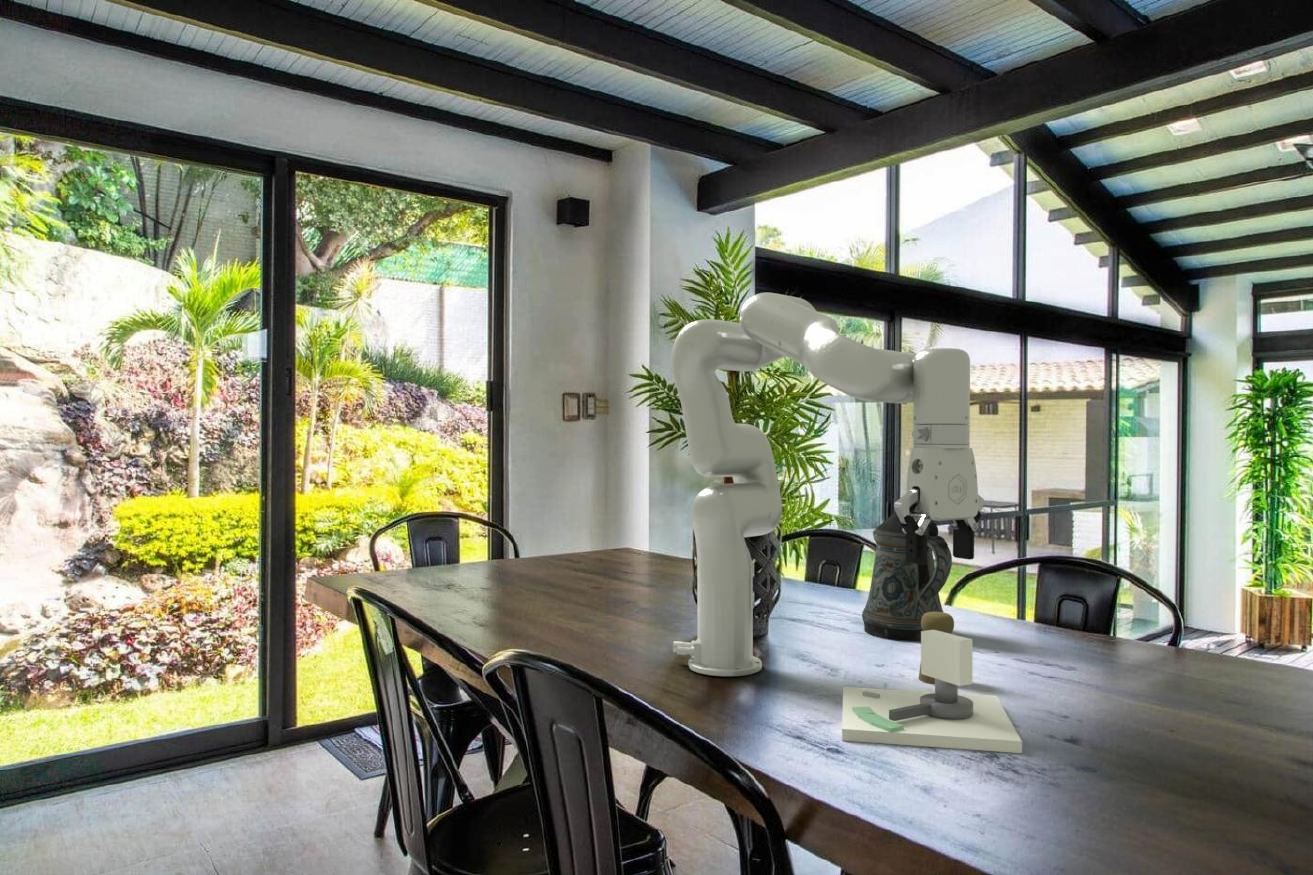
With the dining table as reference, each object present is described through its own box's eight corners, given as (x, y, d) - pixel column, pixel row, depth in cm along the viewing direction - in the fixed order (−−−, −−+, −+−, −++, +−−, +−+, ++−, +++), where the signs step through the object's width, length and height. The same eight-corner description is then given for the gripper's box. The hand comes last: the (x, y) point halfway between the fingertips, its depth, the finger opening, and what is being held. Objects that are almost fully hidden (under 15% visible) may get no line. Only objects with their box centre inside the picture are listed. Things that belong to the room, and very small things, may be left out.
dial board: (842, 740, 114) (842, 725, 114) (843, 696, 134) (843, 683, 134) (1022, 753, 109) (1022, 737, 109) (996, 706, 129) (996, 692, 129)
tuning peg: (945, 700, 126) (945, 627, 126) (984, 713, 119) (984, 637, 119) (873, 714, 119) (873, 637, 119) (910, 729, 113) (910, 648, 113)
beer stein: (880, 621, 190) (879, 505, 190) (971, 632, 179) (971, 509, 179) (849, 634, 177) (848, 510, 177) (945, 647, 165) (945, 515, 165)
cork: (959, 685, 139) (959, 616, 140) (920, 683, 141) (920, 615, 141) (954, 675, 145) (954, 609, 145) (916, 674, 147) (916, 608, 147)
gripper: (919, 437, 114) (919, 569, 114) (1003, 438, 123) (1003, 559, 123) (876, 437, 120) (876, 562, 120) (959, 438, 130) (959, 553, 130)
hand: (940, 560), depth 122 cm, fingers open, 9 cm apart
